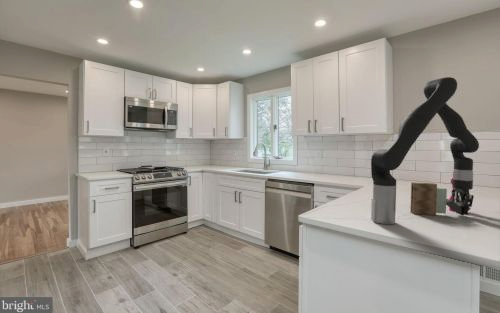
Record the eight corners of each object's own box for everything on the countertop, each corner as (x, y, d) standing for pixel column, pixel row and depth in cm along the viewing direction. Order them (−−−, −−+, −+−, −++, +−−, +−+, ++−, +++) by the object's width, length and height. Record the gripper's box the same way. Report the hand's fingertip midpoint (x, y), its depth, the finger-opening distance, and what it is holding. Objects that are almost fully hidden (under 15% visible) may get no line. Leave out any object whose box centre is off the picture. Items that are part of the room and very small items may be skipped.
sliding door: (418, 211, 123) (419, 187, 122) (417, 211, 124) (418, 187, 124) (445, 213, 120) (446, 188, 119) (444, 212, 121) (445, 188, 120)
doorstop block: (448, 204, 118) (456, 197, 117) (443, 202, 123) (450, 195, 122) (462, 215, 116) (471, 208, 115) (456, 213, 121) (464, 206, 120)
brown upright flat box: (413, 214, 123) (414, 183, 122) (410, 212, 126) (411, 182, 125) (435, 215, 120) (437, 184, 119) (432, 213, 123) (433, 183, 123)
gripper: (445, 176, 126) (444, 208, 127) (462, 180, 112) (460, 216, 113) (463, 177, 124) (461, 209, 125) (481, 181, 110) (479, 217, 111)
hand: (461, 212), depth 119 cm, fingers closed on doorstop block, 5 cm apart
